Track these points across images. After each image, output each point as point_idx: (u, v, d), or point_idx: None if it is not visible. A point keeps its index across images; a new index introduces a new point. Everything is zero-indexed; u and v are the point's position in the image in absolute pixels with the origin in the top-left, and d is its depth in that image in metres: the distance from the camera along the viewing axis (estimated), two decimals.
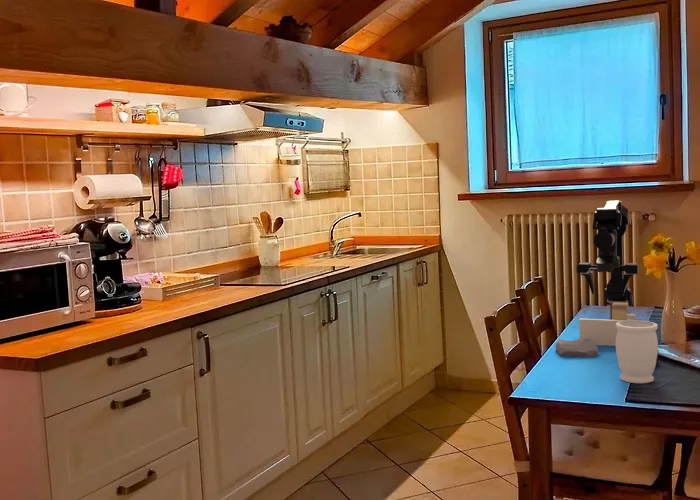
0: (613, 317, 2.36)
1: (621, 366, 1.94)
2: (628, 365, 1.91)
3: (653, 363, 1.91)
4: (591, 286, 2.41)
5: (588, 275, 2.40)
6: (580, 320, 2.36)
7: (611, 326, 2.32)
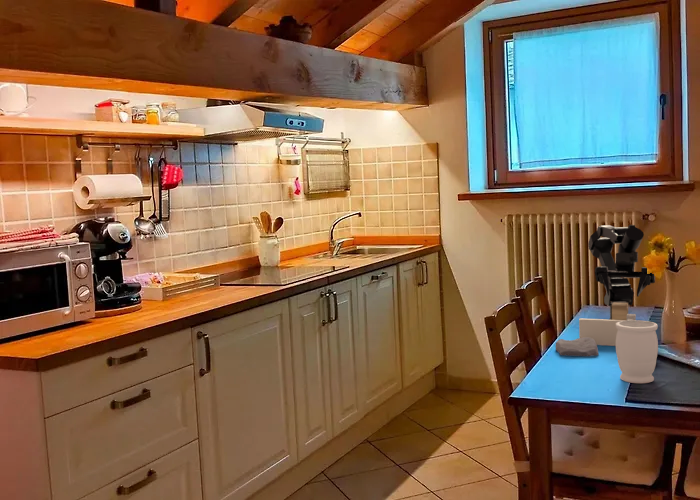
0: (613, 317, 2.36)
1: (621, 366, 1.94)
2: (628, 365, 1.91)
3: (653, 363, 1.91)
4: (607, 286, 2.47)
5: (606, 274, 2.49)
6: (580, 320, 2.36)
7: (611, 326, 2.32)
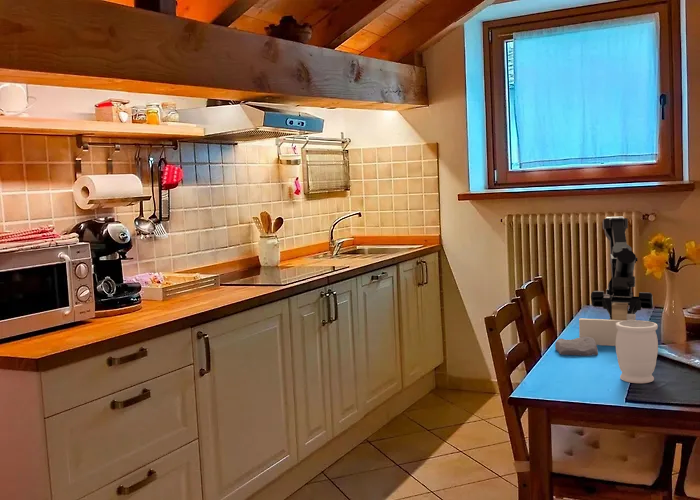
0: (613, 317, 2.36)
1: (621, 366, 1.94)
2: (628, 365, 1.91)
3: (653, 363, 1.91)
4: (611, 312, 2.38)
5: (609, 299, 2.40)
6: (580, 320, 2.36)
7: (611, 326, 2.32)
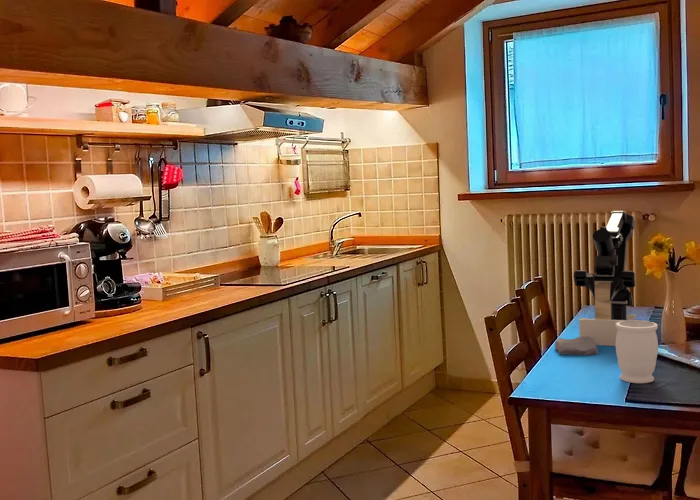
0: (596, 296, 2.36)
1: (621, 366, 1.94)
2: (628, 365, 1.91)
3: (653, 363, 1.91)
4: (593, 291, 2.38)
5: (592, 278, 2.39)
6: (580, 320, 2.36)
7: (611, 326, 2.32)
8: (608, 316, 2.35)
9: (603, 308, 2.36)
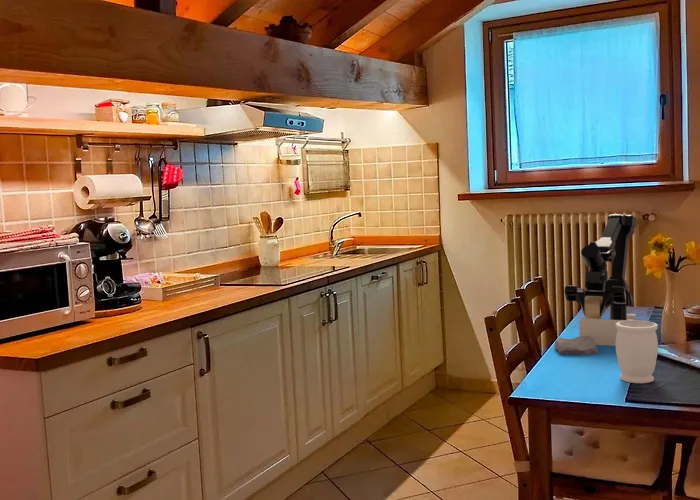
0: (586, 311, 2.37)
1: (621, 366, 1.94)
2: (628, 365, 1.91)
3: (653, 363, 1.91)
4: (584, 306, 2.40)
5: (582, 293, 2.41)
6: (580, 320, 2.36)
7: (611, 326, 2.32)
8: None
9: None
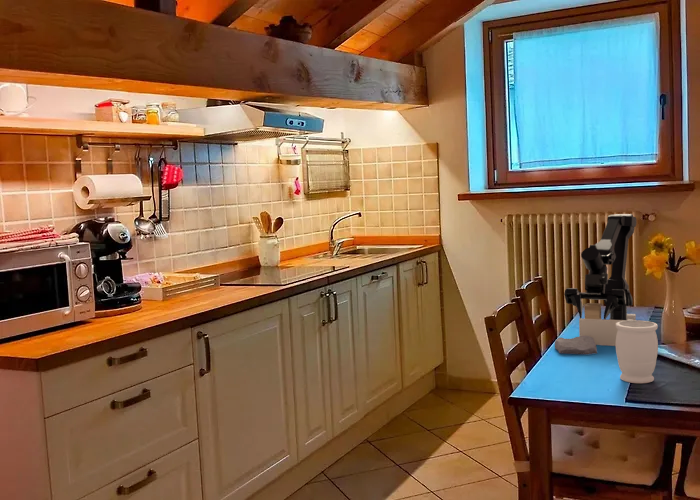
0: (586, 317, 2.38)
1: (621, 366, 1.94)
2: (628, 365, 1.91)
3: (653, 363, 1.91)
4: (579, 309, 2.40)
5: (578, 296, 2.41)
6: (580, 320, 2.36)
7: (611, 326, 2.32)
8: None
9: None
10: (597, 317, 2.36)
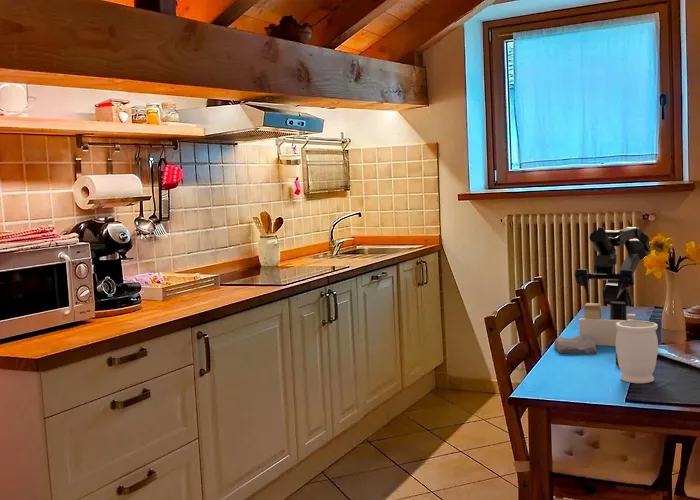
0: (586, 317, 2.38)
1: (621, 366, 1.94)
2: (628, 365, 1.91)
3: (653, 363, 1.91)
4: (587, 288, 2.50)
5: (585, 276, 2.51)
6: (580, 320, 2.36)
7: (611, 326, 2.32)
8: None
9: None
10: (597, 317, 2.36)
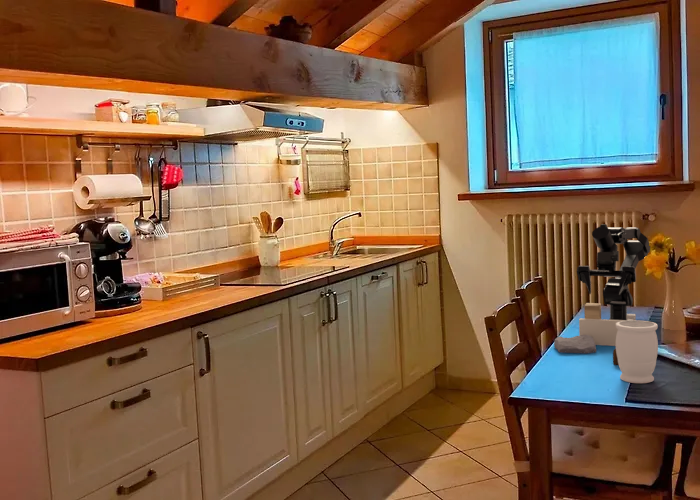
0: (586, 317, 2.38)
1: (621, 366, 1.94)
2: (628, 365, 1.91)
3: (653, 363, 1.91)
4: (589, 285, 2.50)
5: (587, 273, 2.51)
6: (580, 320, 2.36)
7: (611, 326, 2.32)
8: None
9: None
10: (597, 317, 2.36)
